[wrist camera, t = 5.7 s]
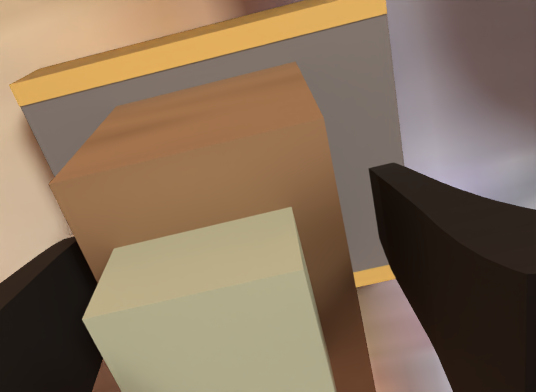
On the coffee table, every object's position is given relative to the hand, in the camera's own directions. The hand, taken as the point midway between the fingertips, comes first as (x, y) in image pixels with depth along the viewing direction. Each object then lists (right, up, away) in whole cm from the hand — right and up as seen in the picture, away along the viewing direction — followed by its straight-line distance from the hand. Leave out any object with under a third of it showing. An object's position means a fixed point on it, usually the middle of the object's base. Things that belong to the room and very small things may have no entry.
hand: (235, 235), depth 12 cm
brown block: (0, +1, +2) cm, 3 cm away
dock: (0, +2, +4) cm, 5 cm away
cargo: (0, -1, -2) cm, 2 cm away
